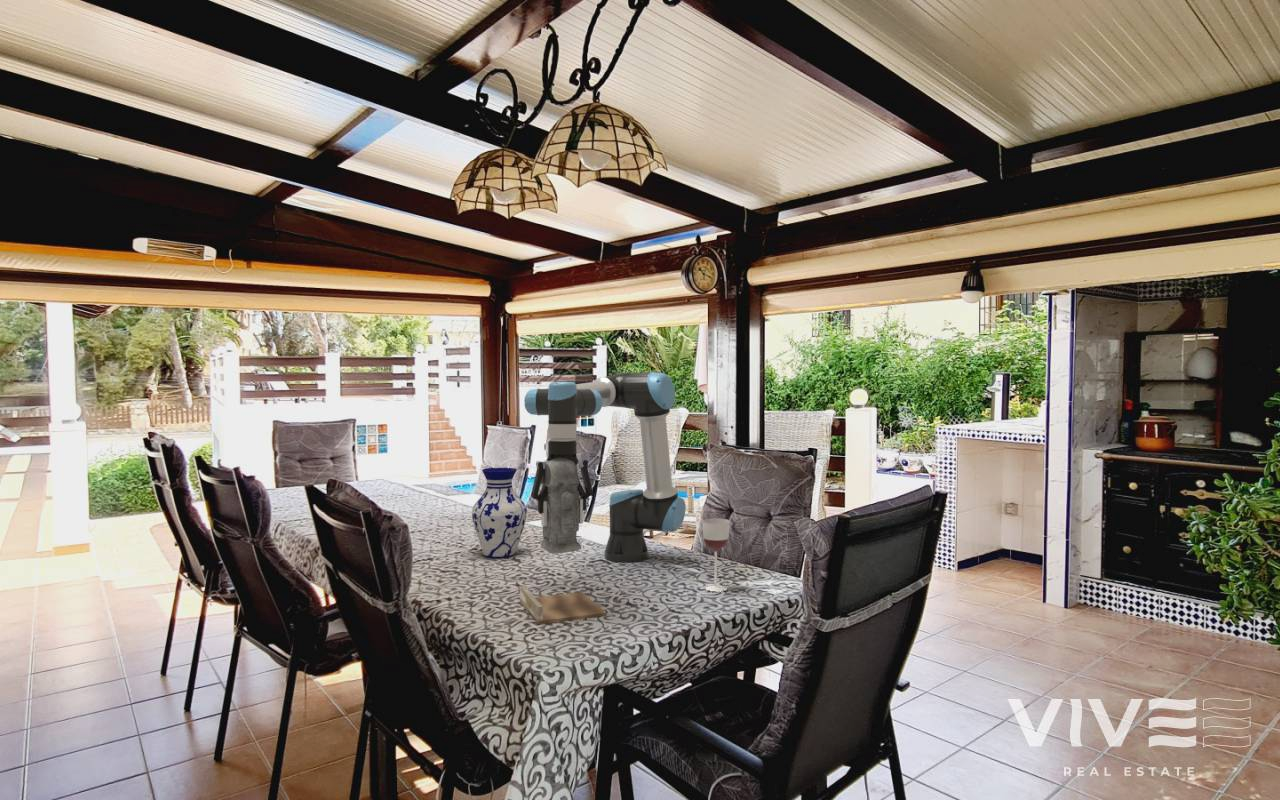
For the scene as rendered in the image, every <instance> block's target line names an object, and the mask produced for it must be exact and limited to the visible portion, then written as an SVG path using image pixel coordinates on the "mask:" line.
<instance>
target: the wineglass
mask: <svg viewBox="0 0 1280 800" xmlns="http://www.w3.org/2000/svg"><path fill="white" fill-rule="evenodd" d="M701 522H702V523H701V525H702V527H701V528H702V536H703V538H702V539H703V542H704V543H705V545H706V546H707V547H708V548H709V549H711V550H712V551H713V552H714V553H713V554H714V559H713V561H714V563H713V565H714V566H713V567H714V568H713V569H714V573H713V575H714V578H713V579H714V580H713V583H714V584H713V585H714V586H713V585H707V586H708V587H706V586H705V587H706V589H707V590H710V591H720V592H721V591H723V590H724V589H725V588H724V587H725V586H723V587H722V585H718V551H719V550H721V549H723V548H724V547H725V546H726V544H727V543H728V541H729V537H730V520H729V519H727V518H726V519H725V518H715V517H714V518H711V517H710V518H705V519H702V520H701ZM721 593H722V592H721Z"/></svg>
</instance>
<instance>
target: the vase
mask: <svg viewBox="0 0 1280 800" xmlns="http://www.w3.org/2000/svg"><path fill="white" fill-rule="evenodd" d="M481 471H482V474H483V475H484V477H485V480H486V488H485V490H484V492H483V493H482V495H481V496H480V497H479V499H477V500H476V502H475V503H474V505H473V506H472V509H471V510H472V511H471V517H472V518H471V520H472V523H473V526H474V529H475V532H476V536H477V539H478V542H479V545H480V547H481V550H482V551H481V552H482V554H483V557H485V558H488V559H507V558H511V557H514V556H516V553H517V550H518V547H519V543H520V541H521V538H522V534H523V532H524V531H523V530H524V528H525V524H526V520H527V517H528V516H527V515H528V510H527V506H526V503H525V502H524V501H523V500H522V499H521V498H520V496H519V495H518V494H517V493H516V492H515V490H514V488H513V479H514V476H515V475H516V472H517V468H514V467H513V468H512V467H489V468H488V467H487V468H483V469H481Z"/></svg>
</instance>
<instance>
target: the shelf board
mask: <svg viewBox="0 0 1280 800" xmlns="http://www.w3.org/2000/svg"><path fill="white" fill-rule="evenodd" d="M519 602H520V605H522V606H523V608H524V609H525V610H526V611H527V613H528V614H529V615H530V616H531V617H532V619H533V620H534V621H535V623H536V624H537V625H543V624H551V623H558V622H566V621H574V620H576V621H577V620H581V619H583V620H584V619H590V618H598V617H605V616H606V617H607V612H606V611H605V610H604V609H603V608H601V606H599V605H598V604H597V603H596V602H595V601H593V600H592V599H591V598H590V597H589V596H588V595H587V594H585V593H584V592H583V591H582V592H571V593H562V594H554V595H544V596H543V595H542V596H536V597H535V596H534V595H533V594H532V593H531V592H530V591H529V590H528V588H527V587H526V586H524V585H521V586H519Z"/></svg>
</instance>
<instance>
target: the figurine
mask: <svg viewBox="0 0 1280 800" xmlns="http://www.w3.org/2000/svg"><path fill="white" fill-rule="evenodd" d="M546 461H547V462H546V464H545V469H543V476H542V480H541V484H540V485H542V486H543V485H545V486H547V488H548V493H547V495H546V497H545V499H544V500H545V501H547V526H543V525H542V540H541V541H540V542H541V543H540V547H541V548H542V549H543V550H545V551H546V552H547V553H549V554H563V553H571V552H578V551H580V550H581V549H582V545H581V543H580V542H578V539H577V532H578V531H579V530H580V523H579V511H580V504H579V498H580V495H579V491H578V489H577V487H578V485H579V483H581V480H580V477H579V472H578V466H577V465H575V463H574V462H573V461H572V460H569V459H567V458H556V459H553V460H551V461H548V460H547V459H546Z"/></svg>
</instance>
